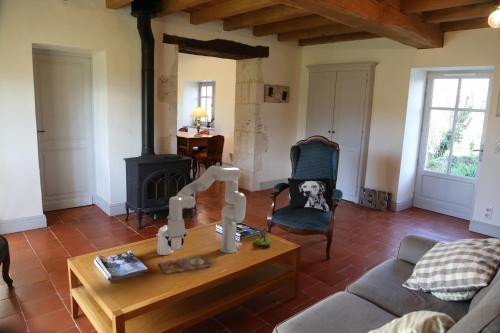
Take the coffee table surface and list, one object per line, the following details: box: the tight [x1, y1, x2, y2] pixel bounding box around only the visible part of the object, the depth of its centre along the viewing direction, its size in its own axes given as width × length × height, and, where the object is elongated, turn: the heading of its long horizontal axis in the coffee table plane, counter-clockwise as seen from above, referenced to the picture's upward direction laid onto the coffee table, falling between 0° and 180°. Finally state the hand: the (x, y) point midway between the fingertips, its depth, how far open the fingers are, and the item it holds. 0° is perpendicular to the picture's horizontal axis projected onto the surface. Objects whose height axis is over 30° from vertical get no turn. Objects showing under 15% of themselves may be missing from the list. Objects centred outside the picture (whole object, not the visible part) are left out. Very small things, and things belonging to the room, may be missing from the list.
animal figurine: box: [253, 225, 273, 247], centre depth 261 cm, size 14×13×15 cm
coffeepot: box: [155, 224, 174, 256], centre depth 240 cm, size 11×25×19 cm, turn 168°
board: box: [158, 255, 211, 276], centre depth 224 cm, size 28×16×1 cm, turn 116°
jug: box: [170, 236, 182, 252], centre depth 218 cm, size 11×7×8 cm, turn 27°
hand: (175, 244), depth 219 cm, fingers closed on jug, 6 cm apart
